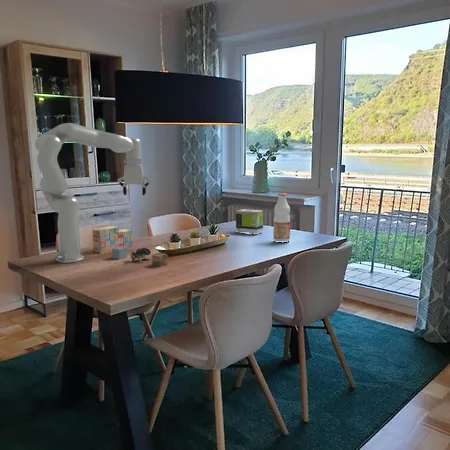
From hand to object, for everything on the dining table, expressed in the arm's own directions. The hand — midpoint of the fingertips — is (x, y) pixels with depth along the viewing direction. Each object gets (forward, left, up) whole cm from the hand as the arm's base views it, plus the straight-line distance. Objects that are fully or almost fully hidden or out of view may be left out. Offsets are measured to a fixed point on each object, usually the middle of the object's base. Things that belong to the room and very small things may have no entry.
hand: (134, 195), depth 234 cm
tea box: (+72, -30, -29) cm, 83 cm away
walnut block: (-19, -33, -29) cm, 48 cm away
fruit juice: (+58, -59, -29) cm, 88 cm away
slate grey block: (-19, -7, -29) cm, 36 cm away
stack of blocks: (-7, +10, -30) cm, 32 cm away
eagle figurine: (-18, -20, -29) cm, 40 cm away
